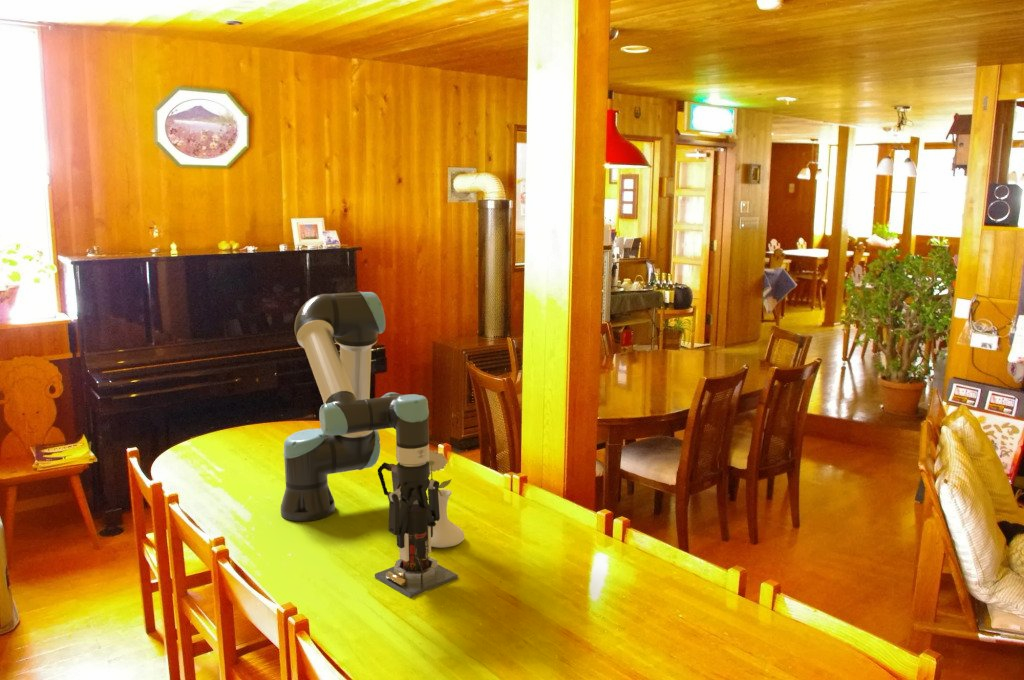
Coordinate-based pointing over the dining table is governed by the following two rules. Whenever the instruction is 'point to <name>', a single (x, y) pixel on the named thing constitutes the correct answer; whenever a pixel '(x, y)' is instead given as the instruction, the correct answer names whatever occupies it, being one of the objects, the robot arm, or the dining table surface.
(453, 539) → the flower in vase
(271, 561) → the dining table surface
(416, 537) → the deodorant
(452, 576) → the socket mount
